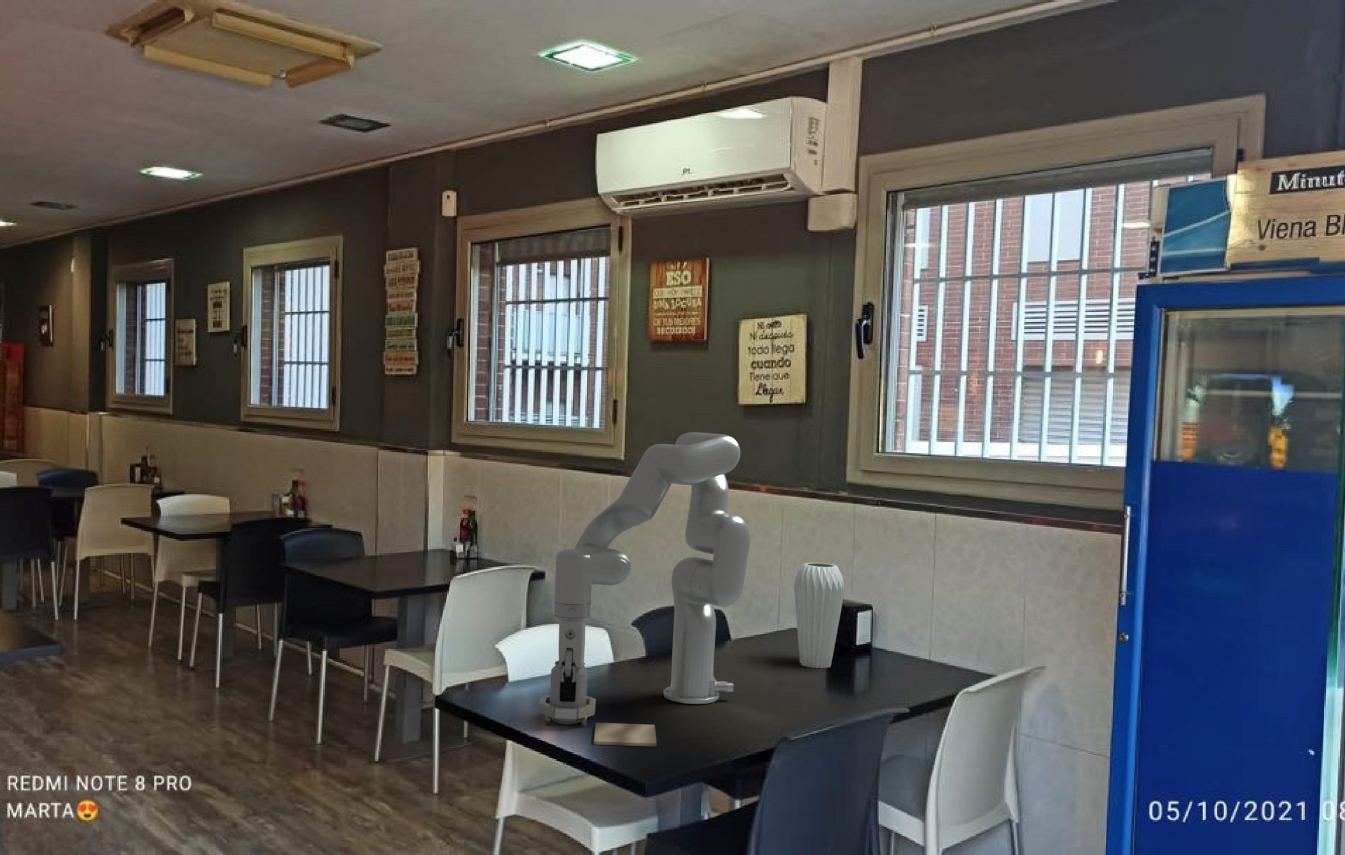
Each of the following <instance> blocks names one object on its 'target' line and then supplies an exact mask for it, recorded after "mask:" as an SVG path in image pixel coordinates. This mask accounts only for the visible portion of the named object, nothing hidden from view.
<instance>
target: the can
mask: <svg viewBox="0 0 1345 855" xmlns="http://www.w3.org/2000/svg"><path fill="white" fill-rule="evenodd" d="M585 664H586V663H585V662H584V664H583V668H582V669H579V667H576V673H575V682H576V699H575V702H561V701H560V700H559V698H560V681H561V677H562V669H561V668H560V667H559V659H558V660H556V661H554V665H553V667H552V668H551V671H550V694H549V695H550V704H551V705H554V706H557V707H580V706H584V705H586V701H587V696H588V695H587V694H588V677H589V676H588V675H589V674H588V673H589V671H588V669H587V668H586V665H585ZM564 666H565V663H564ZM571 666H574V665H571ZM572 672H573V671H572ZM572 677H573V676H572ZM551 720H552V721H553V722H555V723H557V724H561V725H575V724H579V723H581V718H580V719H560V718H552V717H551Z"/></svg>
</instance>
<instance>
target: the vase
mask: <svg viewBox="0 0 1345 855" xmlns="http://www.w3.org/2000/svg"><path fill="white" fill-rule="evenodd" d="M793 589H794V592H793V593H794V606H795V616H796V631H797V643H798V644H797V645H798V655H799V656H798V657H799V664H800V663H801V664H800V665H801V666H803V667H807V668H812V669H827V668H831V666H832V661H833V656H834V651H835V644H836V641H837V634H838V628H839V623H840V617H841V613H842V607H843V600H844V595H845V584H844V577H843V574H842V572H841V571H840V569H839V567H838V565H836V564H832V563H829V562H828V563H826V562H804V563H803V564H802V566H801V567H800V568H799V570H798V572H797V574H796V577H795V580H794V584H793Z"/></svg>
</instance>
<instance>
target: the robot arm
mask: <svg viewBox="0 0 1345 855" xmlns="http://www.w3.org/2000/svg"><path fill="white" fill-rule="evenodd" d="M643 453H644V454H643V455H642V456H641V458H640V460H639V462H638V464H637V466H636V467H635V469H634V471H633V473H632V475H631V476H630V477H629V479H628V481H627V483H626V485H625V487H624V489H623V490H622V492H621V493H620V495H619V497H618V498H617V499H616V500H615V501H614V502H612V503H611V504H610V505H608V506H607V507H606V508H605V509H604V510H602V511H601V512H600V513H599V514H598V515H597V516H595V517H594V518H593V519H592V520H591V521H590V522H589V523H588V525H587V526H586V528H585V529H584V531H583V532H582V534H581V536H580V537H579V539H578V541H577V543H576V544H575V546H574V549H572V548H571V549H562V550H560V551H559V552H558V553H557V555H556V557H555V579H554V597H553V598H554V600H553V601H554V603H553V618H554V619H556V620H559V622H558V660H559V667H560V668H561V669H562V677H561V681H560V698H559V700H560V701H561V702H575V699H576V682H575V673H576V667H579V669H582V668H583V664H584V663H585V648H586V621H588V620H590V619H591V609H592V608H591V606H592V604H591V603H592V586H594V585H599V586H600V585H602V586H617V585H619V584H621V583H623V582H624V581H625V580H627V578H628V577H629V575H630V573H631V570H632V569H631V567H632V566H631V562H630V558H628V556H627V555H626V554H625V553H624V552H622V551H620V550H617V549H614V548H610V545H611V544H612V543H613V541H614V540H615V539H617V538H618V536H620V535H621V534H623V533H624V532H626V531H627V530H630V529H632V528H636V527H638V526H641V525H643V524H645V523H647V522H649V521H651V520H652V519H653V518H654V517H655V515H656V513H657V511H658V509H659V508H660V505H661V503H662V502H663V501H664V498H665V497H666V495H667V493H668V491H669V490H670V488H671V486H672V485H673V484H674V485H681V486H689V485H690V487H691V493H690V499H689V500H690V501H689V508H688V512H687V520H686V527H685V533H684V535H685V536H684V537H685V542H686V545H687V546H688V547H689V548H690V549H692V550H694V551H697V552H701V553H705V554H710V555H713V558H712V560H711V559H709V558H704V557H703V558H702V557H696V556H695V557H693V556H690V557H685V558H683V559H681V560H680V561H678V563H677V564H676V565H675V566H674V568H673V570H672V574H671V589H672V596H673V606H674V607H673V608H674V609H673V610H674V613H673V616H674V617H673V636H672V655H671V673H670V674H671V675H670V676H671V677H670V686H668V687H665V689H663V696H664V698H666V699H667V700H668V701H669V700H670V701H672V702H675V703H682V704H687V705H689V704H691V705H703V704H711V703H715V702H716V701H718V700H719V699H720V691H721V692H728V693H729V692H732V693H733V692H734V683H733V682H728V681H726V680H725V681H723V680H721V681H720V680H718V681H717V679H716V678H715V675H714V668H715V665H714V663H715V646H716V645H715V644H716V643H715V642H716V630H717V618H716V612H715V608H714V606H716V607H721V608H722V607H724V608H725V607H726V608H727V607H730V606H732V605H734V604H735V603H736V602H737V601H738V599H739V598H740V596H741V594H742V593H743V588H744V584H745V578H746V570H747V565H748V558H749V552H750V545H751V536H750V535H751V534H750V529H749V527H748V524H747V523H746V521H745V520H744V519H743V518H742V517H740V516H738V515H736V514H731V513H727V511H728V510H727V509H728V503H729V501H728V500H729V484H728V481H727V477H726V474H728V473H730V472H732V470H734V469H735V468H736V466H737V465H738V463H739V461H740V458H741V448H740V445H739V443H738V441H737V440H736V439H735V438H734V437H733V436H730V435H727V434H721V433H711V432H710V433H709V432H694V431H693V432H692V431H691V432H686V433H683V434H681V435H680V436H678V437H677V439H676V441H675V444H671V443H669V444H668V443H657V444H653V445H651V446H649V447H648V448H647V449H646V451H645V452H643ZM564 663H565V666H564ZM571 665H574V666H571ZM572 671H573V672H572ZM572 676H573V677H572Z"/></svg>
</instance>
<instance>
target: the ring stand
mask: <svg viewBox="0 0 1345 855" xmlns="http://www.w3.org/2000/svg"><path fill="white" fill-rule="evenodd" d="M596 701H597V699H596V698H594V697H591V696H588V695H587V701H586V705H584V706H580V707H557V706H554V705H551V704H550V694H547V695H543V696H540V699H539V702H538V713H539V714H540V715H542V716H543V715H544V716H545V717H544V725H545V726H547V727H549V726H551V725H552V718H560V719H580V718H581V722H580V727H581V728H586V727H587V725H588V717H591V716H595V714H596ZM551 717H552V718H551Z"/></svg>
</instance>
